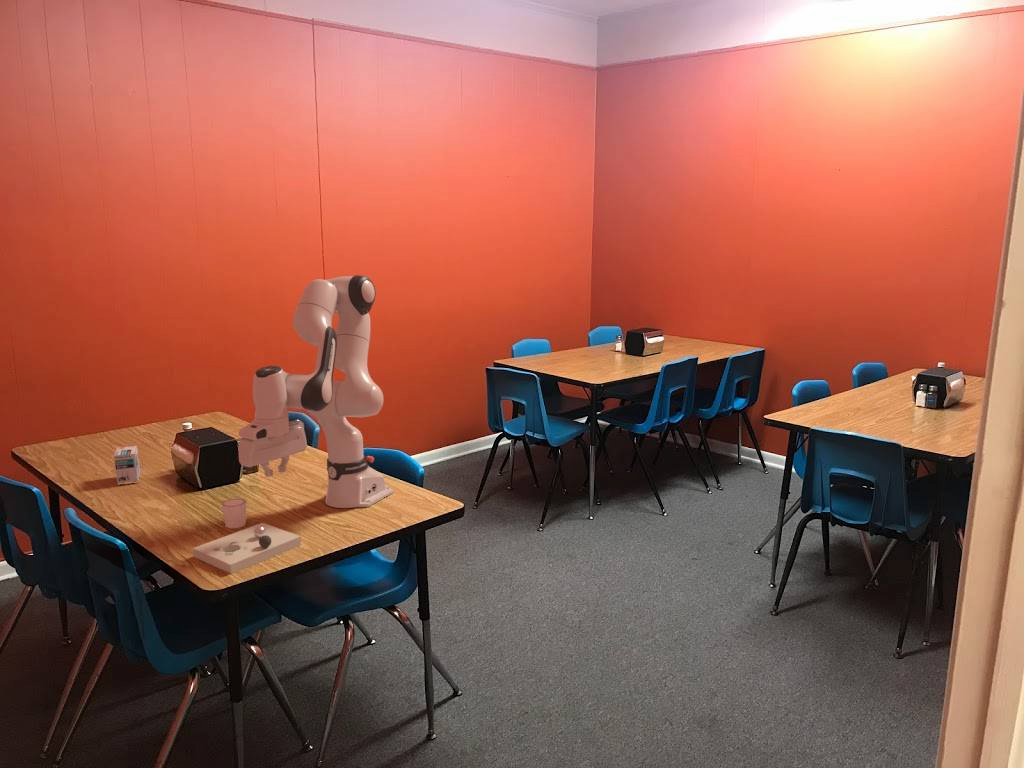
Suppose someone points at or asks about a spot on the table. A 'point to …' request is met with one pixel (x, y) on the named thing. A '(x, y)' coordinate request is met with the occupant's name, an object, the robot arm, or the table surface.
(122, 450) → the light bulb box
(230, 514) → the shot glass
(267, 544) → the black rubber ball
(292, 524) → the table surface
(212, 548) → the board
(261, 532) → the steel ball
